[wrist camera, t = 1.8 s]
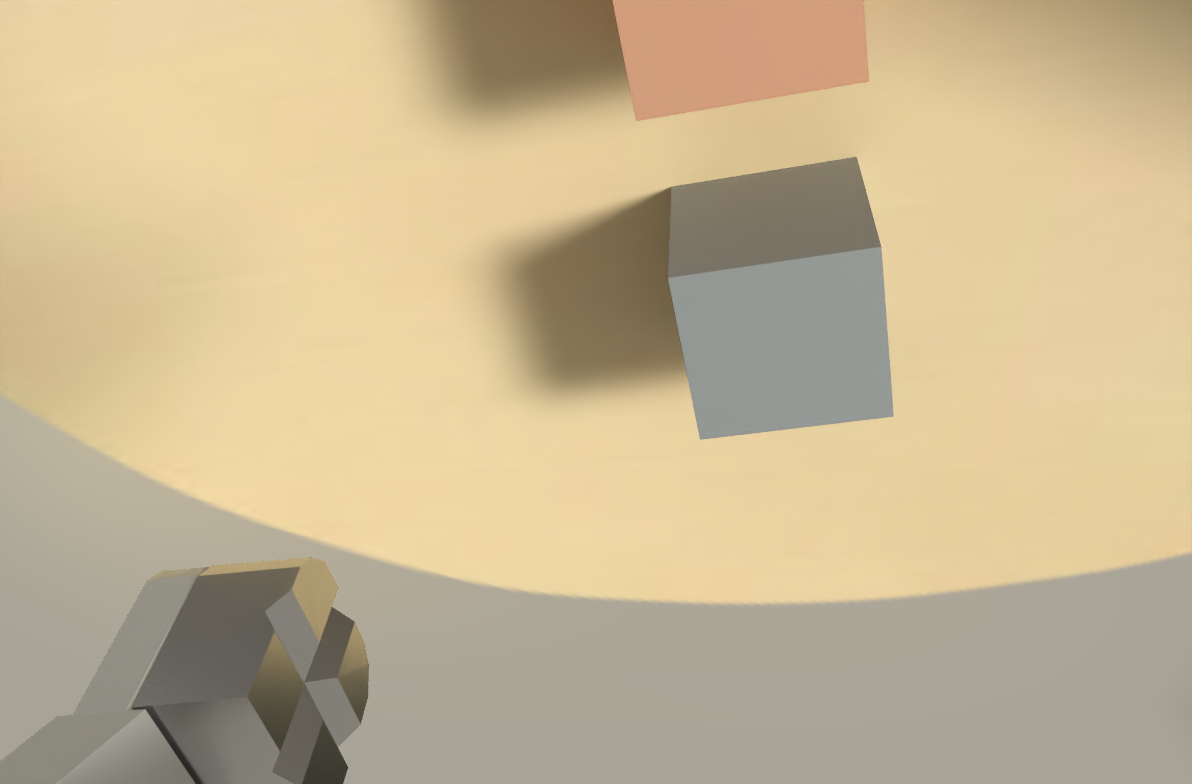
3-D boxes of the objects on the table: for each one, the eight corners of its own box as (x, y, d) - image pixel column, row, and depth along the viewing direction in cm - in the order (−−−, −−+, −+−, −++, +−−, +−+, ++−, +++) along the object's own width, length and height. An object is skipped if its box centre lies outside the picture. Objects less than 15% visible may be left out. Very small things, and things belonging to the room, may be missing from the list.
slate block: (856, 155, 30) (880, 246, 26) (869, 312, 33) (893, 416, 29) (671, 185, 31) (667, 278, 27) (699, 335, 34) (700, 439, 30)
